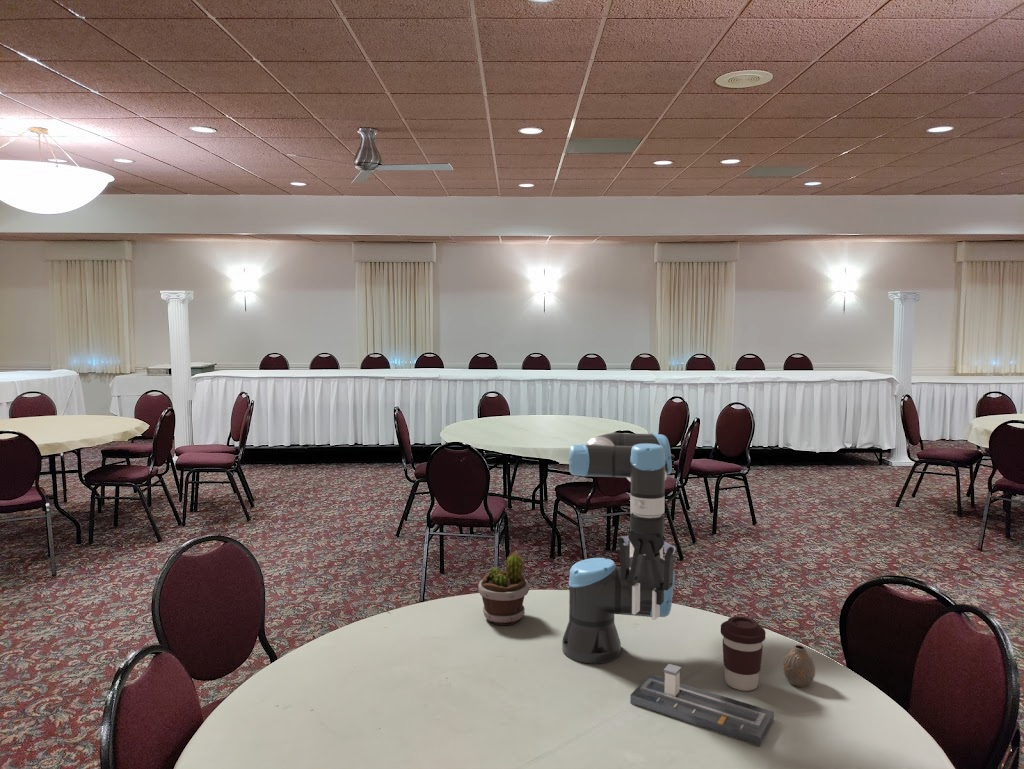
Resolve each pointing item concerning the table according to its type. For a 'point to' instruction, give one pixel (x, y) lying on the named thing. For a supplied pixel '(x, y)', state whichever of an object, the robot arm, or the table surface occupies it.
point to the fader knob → (672, 680)
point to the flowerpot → (504, 592)
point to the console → (705, 710)
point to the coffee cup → (742, 652)
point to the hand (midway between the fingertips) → (645, 614)
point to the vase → (799, 667)
